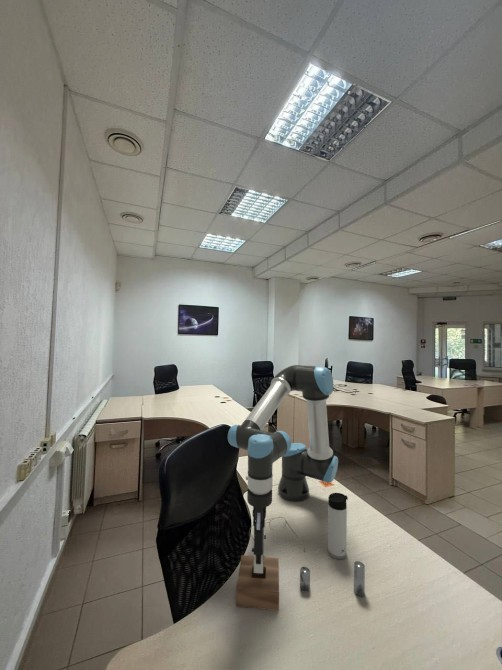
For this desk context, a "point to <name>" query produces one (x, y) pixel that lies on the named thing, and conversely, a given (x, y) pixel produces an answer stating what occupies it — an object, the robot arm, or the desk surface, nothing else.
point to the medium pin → (359, 578)
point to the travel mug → (337, 525)
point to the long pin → (263, 553)
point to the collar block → (258, 584)
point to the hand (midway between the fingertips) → (258, 566)
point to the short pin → (305, 579)
